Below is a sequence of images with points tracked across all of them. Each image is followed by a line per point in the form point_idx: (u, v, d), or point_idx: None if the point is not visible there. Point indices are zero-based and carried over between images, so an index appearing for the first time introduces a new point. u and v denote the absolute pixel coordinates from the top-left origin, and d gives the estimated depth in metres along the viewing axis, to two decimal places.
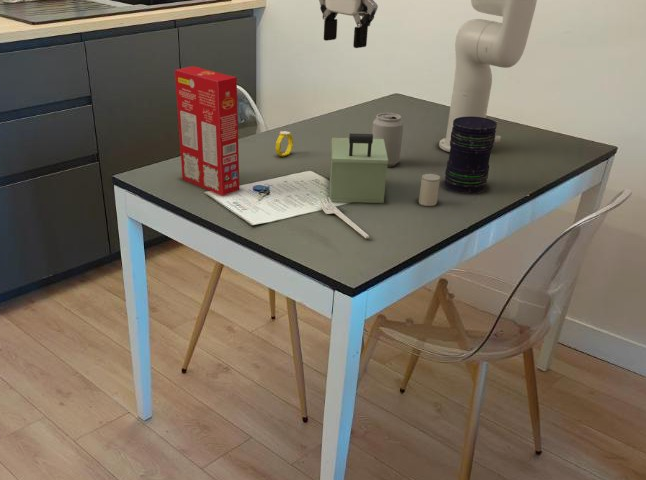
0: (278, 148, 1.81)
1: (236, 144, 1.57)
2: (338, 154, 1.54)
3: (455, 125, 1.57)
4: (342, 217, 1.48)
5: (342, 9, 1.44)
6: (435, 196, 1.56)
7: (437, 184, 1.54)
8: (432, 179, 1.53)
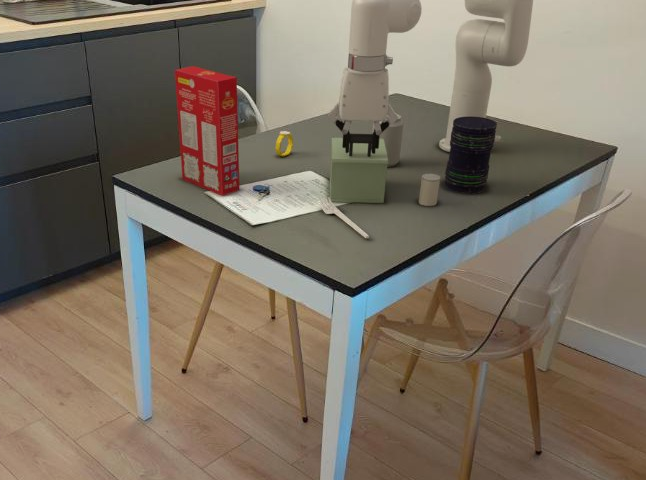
0: (278, 148, 1.81)
1: (236, 144, 1.57)
2: (338, 154, 1.54)
3: (455, 125, 1.57)
4: (342, 217, 1.48)
5: (368, 117, 1.46)
6: (435, 196, 1.56)
7: (437, 184, 1.54)
8: (432, 179, 1.53)
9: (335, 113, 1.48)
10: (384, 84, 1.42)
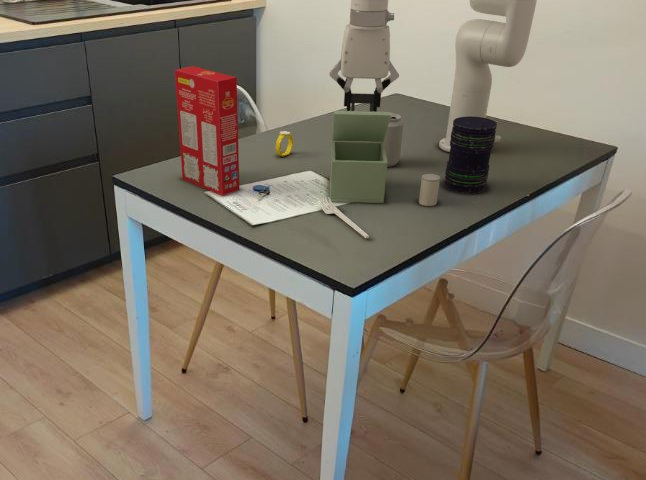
0: (278, 148, 1.81)
1: (236, 144, 1.57)
2: None
3: (455, 125, 1.57)
4: (342, 217, 1.48)
5: (370, 74, 1.47)
6: (435, 196, 1.56)
7: (437, 184, 1.54)
8: (432, 179, 1.53)
9: (337, 70, 1.49)
10: (386, 40, 1.43)
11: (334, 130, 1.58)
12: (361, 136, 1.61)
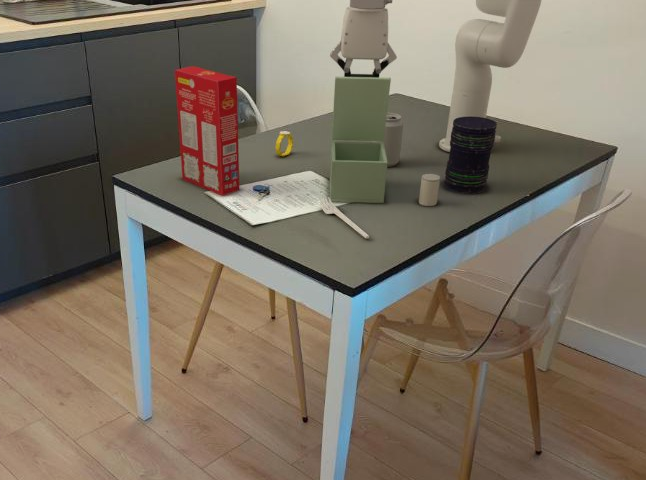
0: (278, 148, 1.81)
1: (236, 144, 1.57)
2: None
3: (455, 125, 1.57)
4: (342, 217, 1.48)
5: (368, 55, 1.53)
6: (435, 196, 1.56)
7: (437, 184, 1.54)
8: (432, 179, 1.53)
9: (337, 52, 1.55)
10: (384, 22, 1.50)
11: (334, 116, 1.60)
12: (361, 128, 1.61)
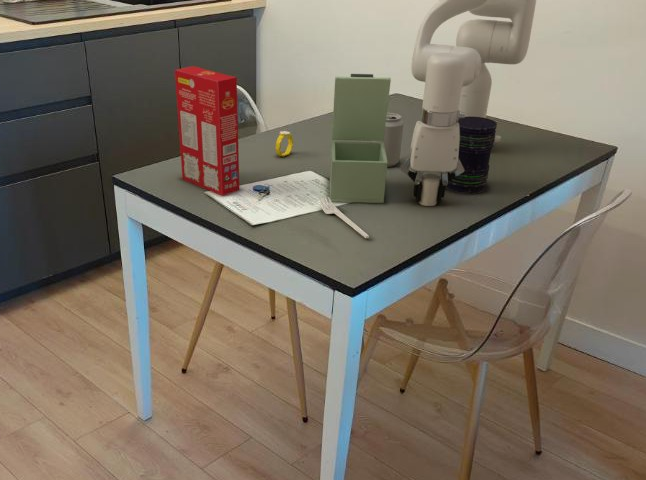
0: (278, 148, 1.81)
1: (236, 144, 1.57)
2: None
3: None
4: (342, 217, 1.48)
5: (438, 168, 1.51)
6: (435, 196, 1.56)
7: (437, 184, 1.54)
8: (432, 179, 1.53)
9: (407, 165, 1.53)
10: (456, 138, 1.47)
11: (334, 116, 1.60)
12: (361, 128, 1.61)
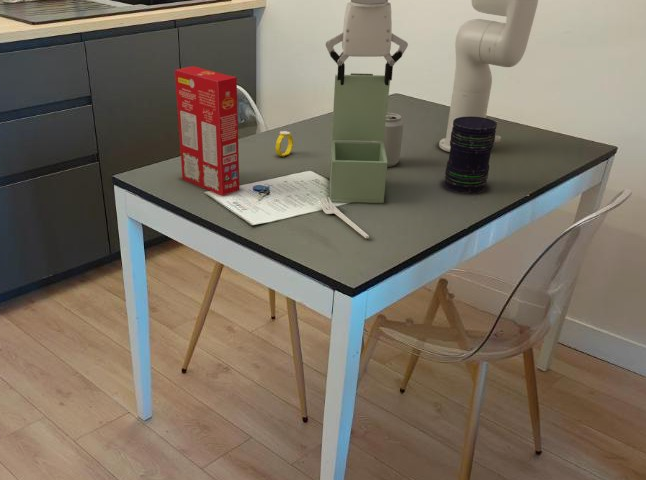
0: (278, 148, 1.81)
1: (236, 144, 1.57)
2: None
3: (455, 125, 1.57)
4: (342, 217, 1.48)
5: (371, 52, 1.47)
6: None
7: None
8: None
9: (334, 43, 1.48)
10: (387, 17, 1.43)
11: (334, 115, 1.60)
12: (361, 128, 1.61)
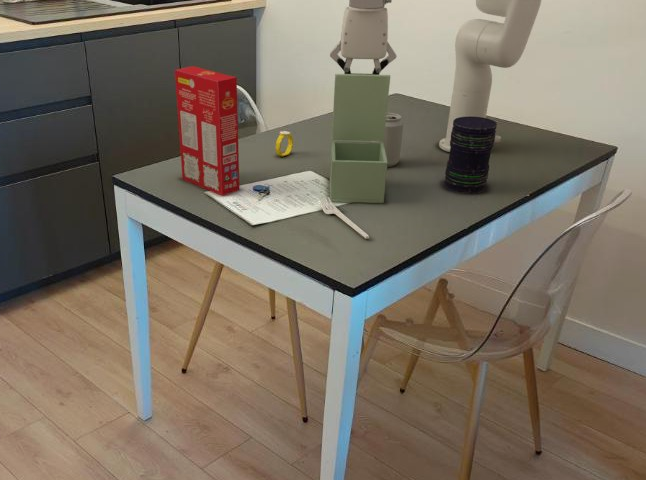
0: (278, 148, 1.81)
1: (236, 144, 1.57)
2: None
3: (455, 125, 1.57)
4: (342, 217, 1.48)
5: (368, 54, 1.54)
6: None
7: None
8: None
9: (337, 51, 1.55)
10: (383, 22, 1.50)
11: (334, 115, 1.60)
12: (361, 127, 1.62)
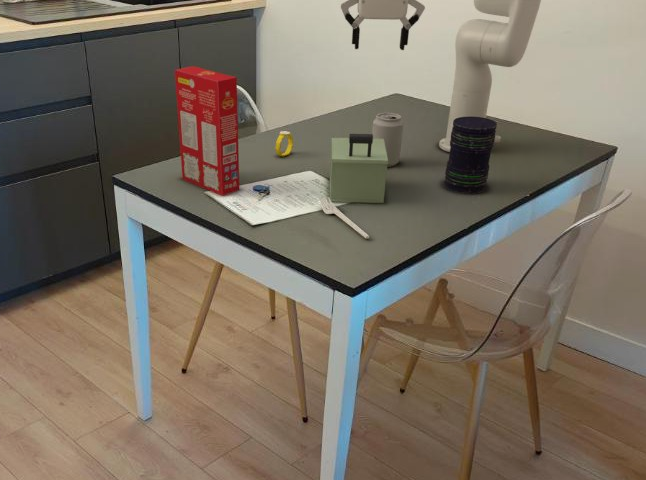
0: (278, 148, 1.81)
1: (236, 144, 1.57)
2: (338, 154, 1.54)
3: (455, 125, 1.57)
4: (342, 217, 1.48)
5: (388, 14, 1.44)
6: None
7: None
8: None
9: (349, 5, 1.45)
10: None
11: None
12: None
